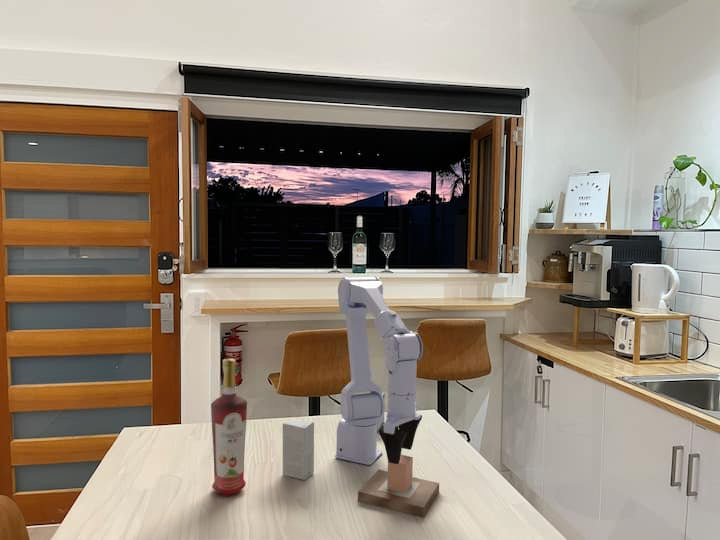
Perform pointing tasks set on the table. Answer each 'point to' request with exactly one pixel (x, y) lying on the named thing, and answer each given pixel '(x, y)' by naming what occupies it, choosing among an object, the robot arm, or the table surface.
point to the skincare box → (298, 448)
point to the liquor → (229, 435)
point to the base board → (399, 494)
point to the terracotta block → (400, 474)
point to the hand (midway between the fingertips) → (400, 455)
